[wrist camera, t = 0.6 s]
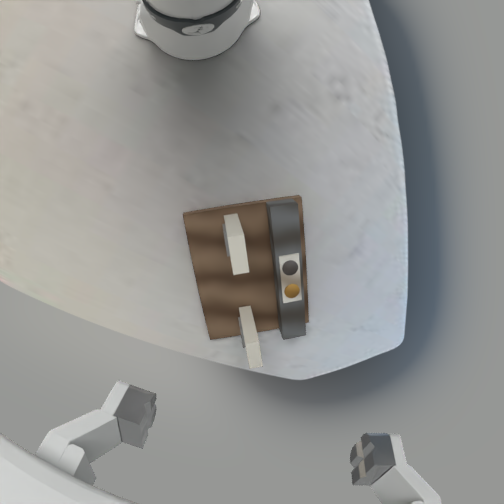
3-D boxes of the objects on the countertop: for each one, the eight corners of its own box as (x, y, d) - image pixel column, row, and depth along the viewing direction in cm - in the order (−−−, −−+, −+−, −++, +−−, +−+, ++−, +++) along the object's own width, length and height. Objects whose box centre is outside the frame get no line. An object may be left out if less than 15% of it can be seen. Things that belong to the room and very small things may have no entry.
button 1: (236, 307, 53) (242, 344, 43) (250, 305, 53) (259, 341, 44) (240, 331, 55) (247, 369, 45) (254, 329, 55) (262, 366, 45)
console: (183, 212, 47) (180, 222, 42) (298, 195, 49) (309, 202, 44) (210, 334, 56) (210, 353, 51) (306, 317, 57) (315, 335, 52)
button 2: (221, 215, 47) (223, 237, 37) (237, 213, 47) (244, 234, 38) (226, 247, 48) (230, 275, 39) (241, 244, 49) (249, 272, 39)
